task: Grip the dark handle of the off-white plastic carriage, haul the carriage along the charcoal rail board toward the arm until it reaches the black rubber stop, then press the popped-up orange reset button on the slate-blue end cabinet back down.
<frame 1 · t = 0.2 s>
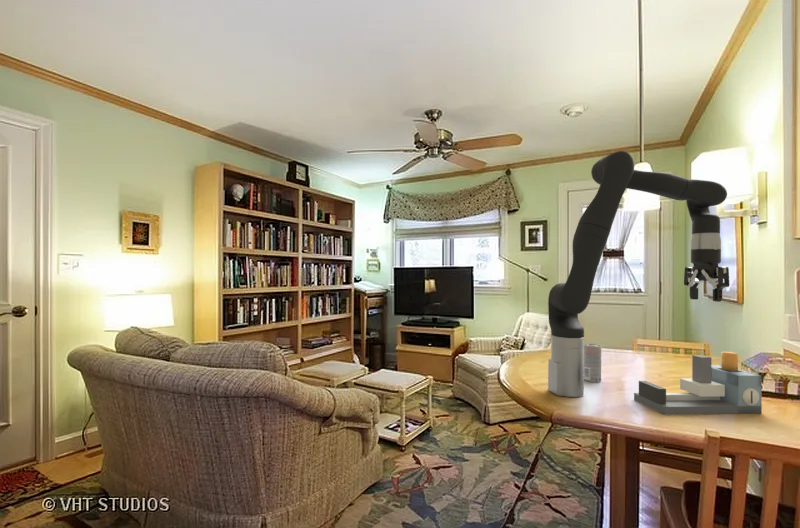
hand: (705, 300, 125), 29 cm above the table, tool pointing down, fingers open, 8 cm apart
energy drink: (592, 381, 137), on the table
carriage: (701, 374, 111), point 9 cm above the table, slide at 9.5 cm
reset button: (729, 360, 112), point 13 cm above the table, slide at 3.0 cm
rail track: (694, 406, 111), on the table
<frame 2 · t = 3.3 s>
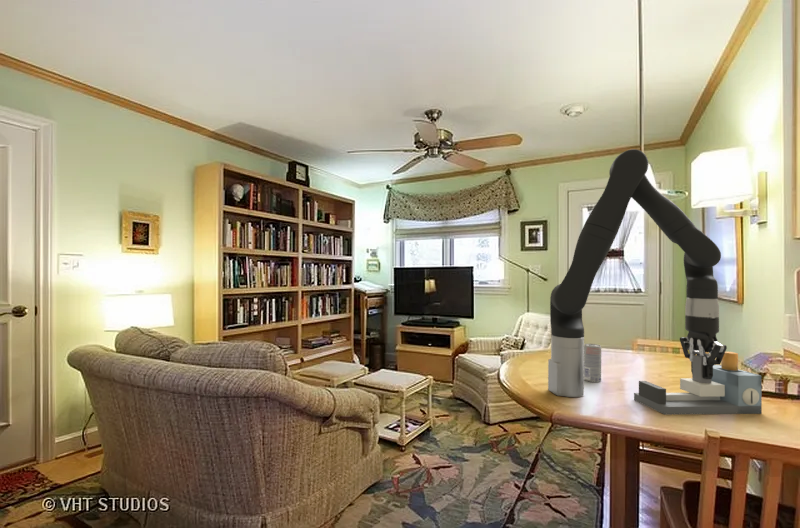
hand: (701, 376, 111), 8 cm above the table, tool pointing down, fingers closed on carriage, 3 cm apart
carriage: (701, 374, 111), point 9 cm above the table, slide at 9.5 cm, touching gripper
everything else where it was.
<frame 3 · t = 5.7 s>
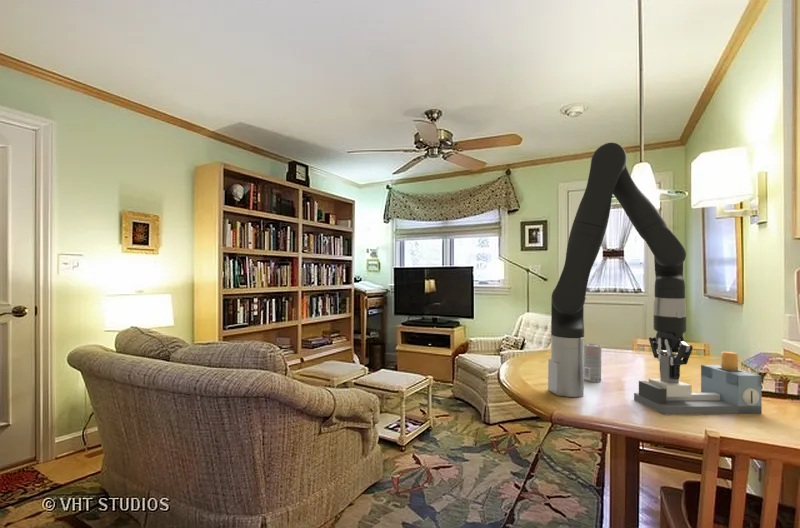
hand: (669, 376, 111), 8 cm above the table, tool pointing down, fingers closed on carriage, 3 cm apart
carriage: (669, 374, 111), point 9 cm above the table, slide at 0.1 cm, touching gripper
everything else where it was.
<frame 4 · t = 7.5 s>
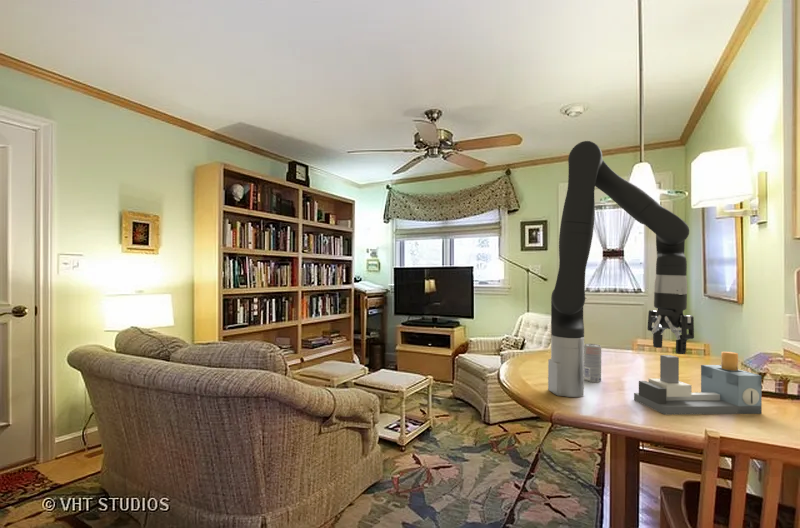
hand: (668, 350, 111), 15 cm above the table, tool pointing down, fingers open, 8 cm apart
carriage: (669, 374, 111), point 9 cm above the table, slide at 0.0 cm
everything else where it was.
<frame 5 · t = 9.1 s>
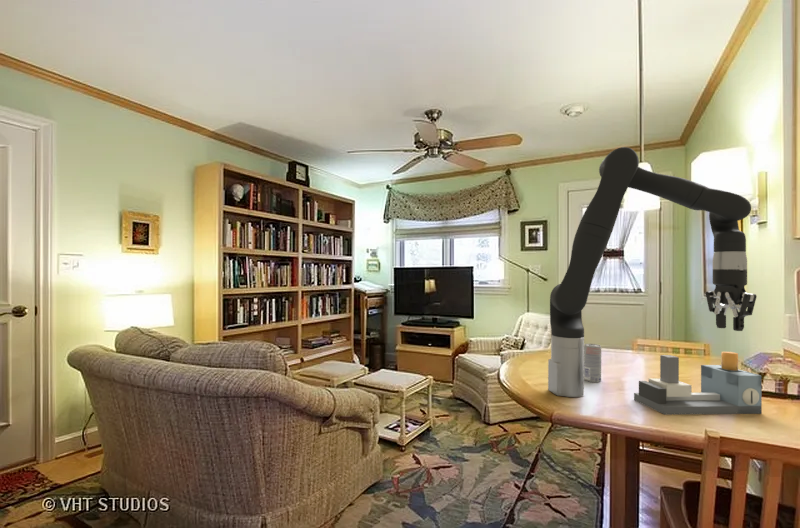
hand: (729, 329, 112), 21 cm above the table, tool pointing down, fingers open, 4 cm apart
nothing on the table moved.
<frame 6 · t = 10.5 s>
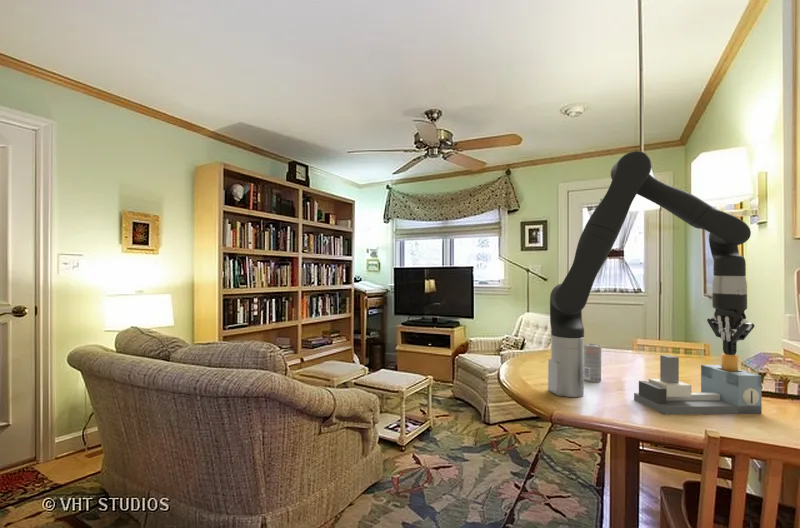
hand: (729, 354, 112), 14 cm above the table, tool pointing down, fingers closed
reset button: (729, 362, 112), point 12 cm above the table, slide at 2.5 cm, touching gripper
everything else where it was.
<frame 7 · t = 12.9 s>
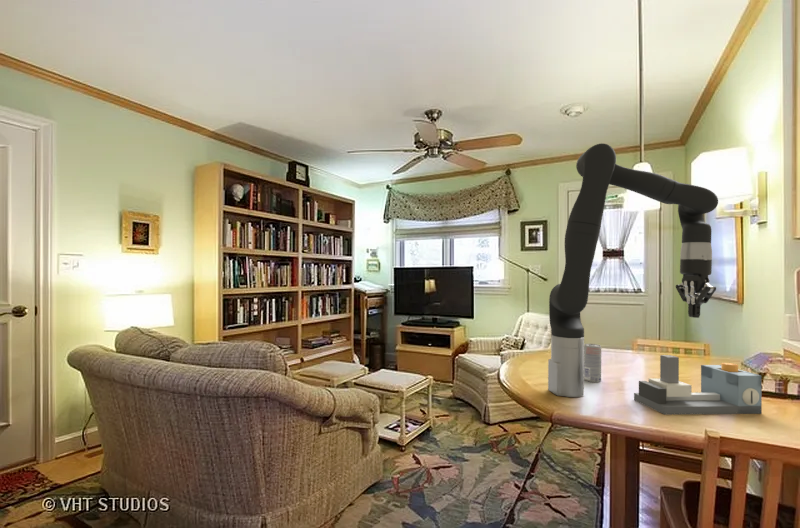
hand: (694, 317, 118), 24 cm above the table, tool pointing down, fingers closed
reset button: (729, 372, 112), point 9 cm above the table, slide at -0.2 cm
everything else where it was.
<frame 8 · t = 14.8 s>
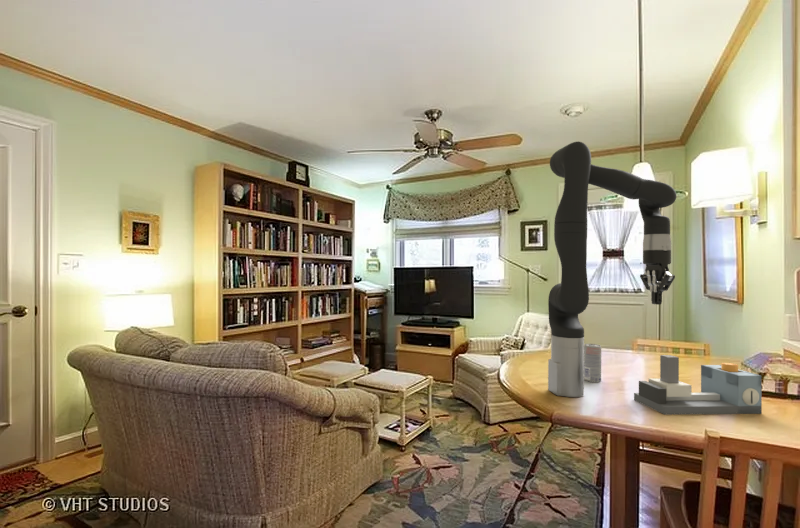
hand: (656, 304, 127), 27 cm above the table, tool pointing down, fingers closed
nothing on the table moved.
at the end: carriage slide at 0.0 cm; reset button slide at -0.2 cm; the gripper is holding nothing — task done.
